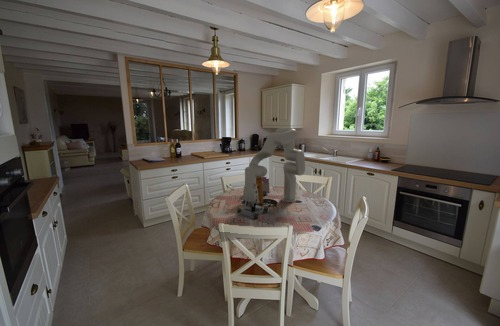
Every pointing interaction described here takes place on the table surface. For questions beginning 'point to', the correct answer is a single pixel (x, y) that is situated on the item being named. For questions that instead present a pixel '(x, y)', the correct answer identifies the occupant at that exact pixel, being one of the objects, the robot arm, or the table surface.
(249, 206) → the engine block
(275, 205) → the table surface
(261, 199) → the coffee package
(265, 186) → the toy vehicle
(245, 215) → the chassis
